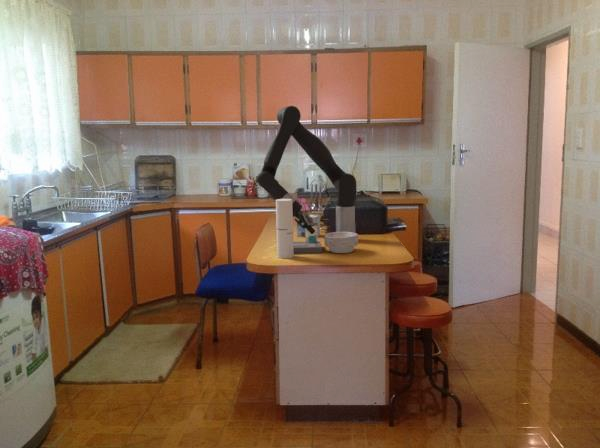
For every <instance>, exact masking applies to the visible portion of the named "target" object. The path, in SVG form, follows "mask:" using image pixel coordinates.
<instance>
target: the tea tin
mask: <svg viewBox="0 0 600 448" xmlns="http://www.w3.org/2000/svg"><path fill="white" fill-rule="evenodd" d="M308 223H309V226H311V227H312V228H313V229H314V230H315V232H314V233H313V234H311V233H310V232H309V231H308V230H307V228H306V237H305V242H306V244H318V241H319V236H318V223H317V222H308Z"/></svg>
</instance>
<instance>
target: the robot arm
mask: <svg viewBox="0 0 600 448" xmlns="http://www.w3.org/2000/svg"><path fill="white" fill-rule="evenodd" d="M276 119H277V122H278V123H279V125H280V127H279V130H278V132H277V134H276V135H275V137H274V139H273V141H272V143H271V145H269V148H268V150H267V153H266V154H265V155H266V156H265V157H264V160H263V166H262V169H261V171H260V172H259V173H258V175H257V176H256V182H257V184H258V185H259V187H261V188H262V189H263V190H265V191H266V193H268V194H269V196H270V197H271V198H272V200H273V201H275V202H276V200H277V199H292V209H293V221H295V222H296V224H297V223H298V224H299V225H300V226H301V227H302V228H305V229H306V228H307V230H308V231H309V232H310V233H311V234H313V233H314V232H315V230H314V229H313V228H312V227H311V226H309V223H308V222H313V221H314V220H313V219H312V218H311V217H310V216H309V215H310V214H309V213H308V212H306V211H304V212H303V211H302V209H303V205H302V204H301V203H300V201H298V200H297V199H296V198H295V197H294V196H293V195H292V194H291V193H289V192H288V190H287V189H286V188H284V187H283V186H282V185H281V184H280V183H279V182H278V180H277V179H276V177H275V176H276V175H277V174H276V173H277V170H278V168H279V165H280V163H281V161H282V159H283V155H284V153H285V151H286V147H287V145H288V143H289V140H290V139H291V137H292V138H293V139H294V140H295V141H296V142H297V144H298V145H299V146H300V147H301V148H302V150H303V151H304V152H305V153H306V154H307V156H308V157H309V158H310V159H311V160H312V161H313V162H314V163H315V165H316V166H317V167H318V168H319V169H320V170H321V171H322V172H323V173H324V174H325V175H326V176H327V178H328V179H329V180H330V182H331V184H332V185H333V187H334V188H335V189H336V190H337V191H338V194H337V195H338V196H337V199H336V200H335V232H354V233H356V220H355V219H356V217H355V212H356V209H355V207H356V206H355V203H356V201H357V200H356V199H357V179H356V177H355V175H353V174H351V173H347V172H345V171H344V170H343V169H342V168H341V167H340V166H339V165H338V164H337V163H336V161H335V158H333V155H332V153H331V151H330V149H329V148H328V146H327V145H325V143H324V142H323V141H322V140H321V139H320V138H319V137H318V136H317V135H315V134H314V133H313V132H311V131H309V130H308V129H307V128H306V127H305V126H304V125H303V124H302V122H300V120H301V111H300V110H299V108H298V107H297V106H295V105H289V106H285V107H283V108H280V109H279V110H278V112H277V114H276ZM294 217H295V218H294ZM318 229H319V228H318Z"/></svg>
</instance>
